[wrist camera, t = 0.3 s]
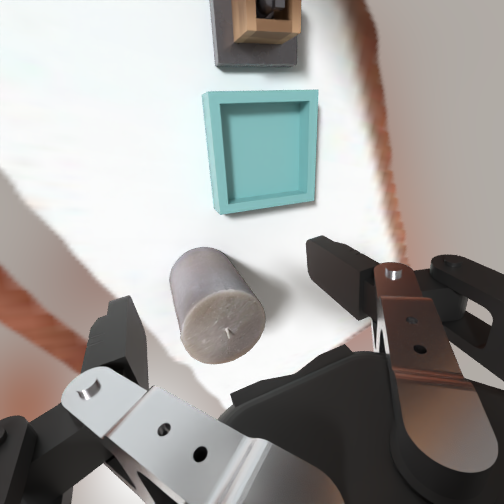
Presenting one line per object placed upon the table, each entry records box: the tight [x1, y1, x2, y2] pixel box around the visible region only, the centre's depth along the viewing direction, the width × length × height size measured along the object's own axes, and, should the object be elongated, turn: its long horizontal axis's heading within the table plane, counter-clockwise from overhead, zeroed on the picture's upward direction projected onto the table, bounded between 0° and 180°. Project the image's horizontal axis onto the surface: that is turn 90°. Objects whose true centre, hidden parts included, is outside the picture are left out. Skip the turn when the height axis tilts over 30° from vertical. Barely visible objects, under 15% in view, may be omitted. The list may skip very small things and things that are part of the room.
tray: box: [202, 90, 318, 215], centre depth 38 cm, size 14×14×4 cm
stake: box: [210, 0, 297, 67], centre depth 30 cm, size 10×10×7 cm
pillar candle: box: [169, 247, 265, 364], centre depth 37 cm, size 10×10×15 cm
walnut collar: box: [231, 0, 301, 44], centre depth 30 cm, size 6×6×4 cm
